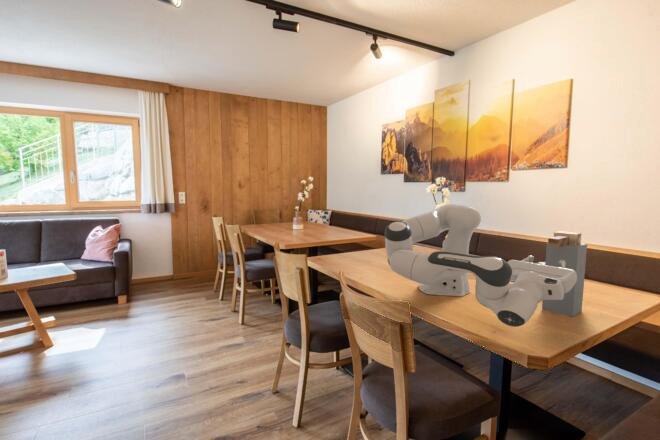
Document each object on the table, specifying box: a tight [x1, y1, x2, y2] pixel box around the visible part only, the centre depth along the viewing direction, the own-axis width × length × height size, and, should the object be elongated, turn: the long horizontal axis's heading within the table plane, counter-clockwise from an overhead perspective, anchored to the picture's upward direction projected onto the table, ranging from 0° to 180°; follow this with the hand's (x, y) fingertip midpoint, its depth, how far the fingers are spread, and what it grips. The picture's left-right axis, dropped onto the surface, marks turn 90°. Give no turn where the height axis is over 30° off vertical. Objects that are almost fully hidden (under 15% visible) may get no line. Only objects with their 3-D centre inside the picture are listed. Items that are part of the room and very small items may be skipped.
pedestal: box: [541, 242, 588, 318], centre depth 127 cm, size 10×10×26 cm
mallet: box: [547, 230, 582, 248], centre depth 122 cm, size 17×7×4 cm, turn 128°
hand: (546, 259), depth 113 cm, fingers open, 8 cm apart
